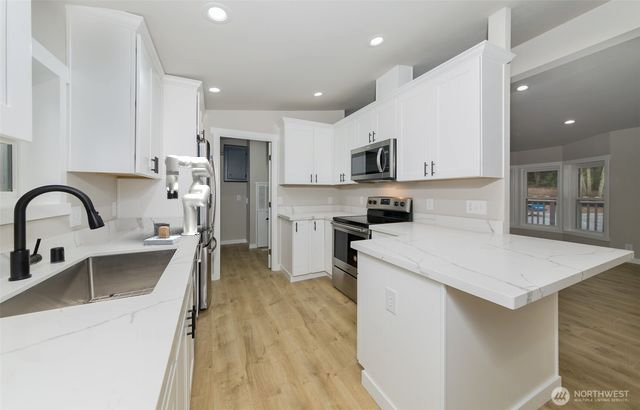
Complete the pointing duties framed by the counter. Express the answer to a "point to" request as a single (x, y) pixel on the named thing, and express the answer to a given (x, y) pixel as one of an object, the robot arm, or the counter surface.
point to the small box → (156, 227)
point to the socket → (162, 240)
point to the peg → (163, 232)
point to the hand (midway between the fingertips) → (172, 198)
